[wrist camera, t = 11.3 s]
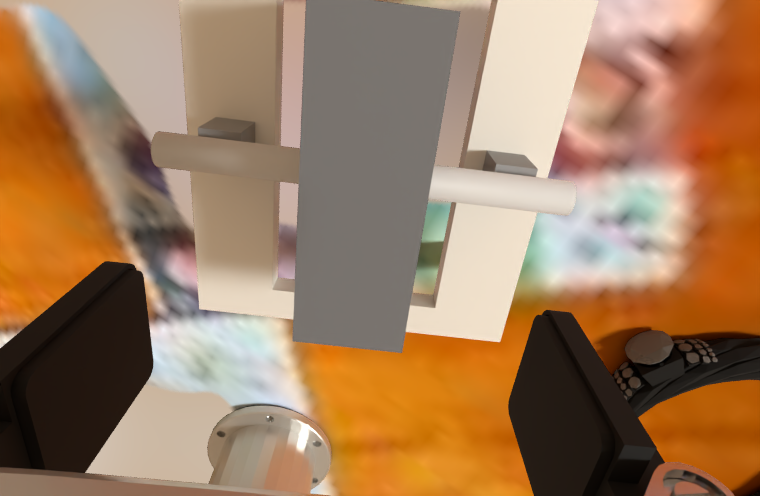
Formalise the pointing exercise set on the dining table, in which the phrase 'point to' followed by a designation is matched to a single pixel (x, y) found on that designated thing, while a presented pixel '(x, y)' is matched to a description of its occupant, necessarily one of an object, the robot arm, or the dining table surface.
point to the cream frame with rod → (457, 185)
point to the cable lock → (682, 367)
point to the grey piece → (366, 165)
